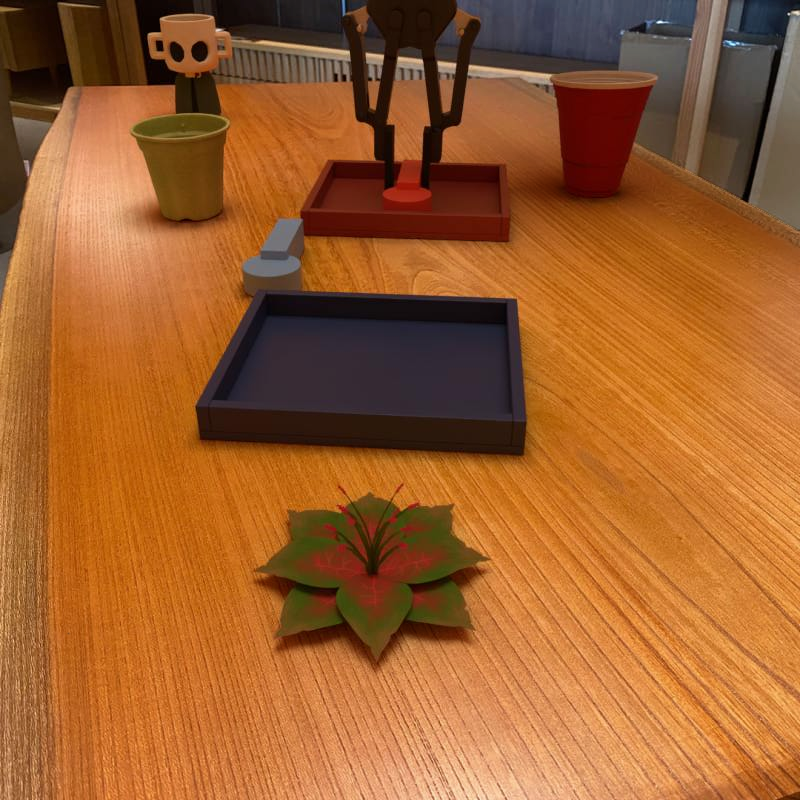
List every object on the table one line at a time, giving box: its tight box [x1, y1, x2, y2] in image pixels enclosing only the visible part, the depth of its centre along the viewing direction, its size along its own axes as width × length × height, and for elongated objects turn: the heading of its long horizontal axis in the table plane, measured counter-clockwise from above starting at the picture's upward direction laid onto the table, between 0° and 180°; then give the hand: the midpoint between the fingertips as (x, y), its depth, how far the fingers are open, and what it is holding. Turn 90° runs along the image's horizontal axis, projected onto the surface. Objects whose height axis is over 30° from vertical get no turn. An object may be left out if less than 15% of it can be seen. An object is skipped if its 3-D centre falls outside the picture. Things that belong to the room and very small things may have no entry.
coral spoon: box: [383, 159, 432, 212], centre depth 85 cm, size 5×11×3 cm, turn 175°
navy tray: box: [194, 289, 528, 456], centre depth 57 cm, size 20×17×2 cm
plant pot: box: [128, 113, 231, 222], centre depth 83 cm, size 9×9×9 cm
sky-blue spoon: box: [241, 217, 306, 298], centre depth 72 cm, size 5×11×3 cm, turn 175°
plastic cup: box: [549, 70, 659, 198], centre depth 88 cm, size 11×11×12 cm
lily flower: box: [251, 475, 493, 662], centre depth 40 cm, size 12×12×5 cm
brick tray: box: [299, 159, 512, 242], centre depth 85 cm, size 20×17×2 cm
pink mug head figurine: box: [147, 13, 234, 116], centre depth 113 cm, size 11×7×13 cm, turn 96°
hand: (407, 191), depth 88 cm, fingers open, 3 cm apart
